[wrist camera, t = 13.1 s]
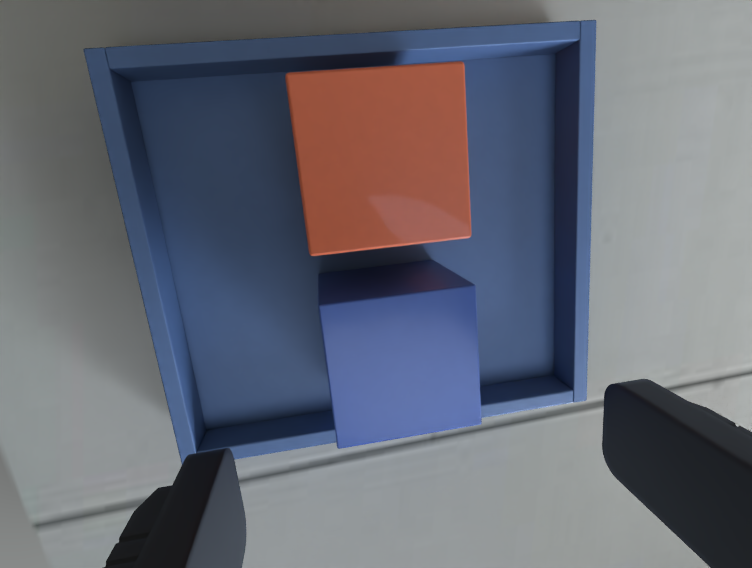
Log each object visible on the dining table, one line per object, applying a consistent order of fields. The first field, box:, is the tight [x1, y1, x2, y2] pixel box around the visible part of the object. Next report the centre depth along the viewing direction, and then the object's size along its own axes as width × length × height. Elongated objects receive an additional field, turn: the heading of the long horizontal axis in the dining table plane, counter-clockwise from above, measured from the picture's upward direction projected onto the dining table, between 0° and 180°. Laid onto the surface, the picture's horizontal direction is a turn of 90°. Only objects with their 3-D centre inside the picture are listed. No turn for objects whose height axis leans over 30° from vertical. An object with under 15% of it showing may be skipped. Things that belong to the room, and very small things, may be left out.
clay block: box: [285, 61, 471, 256], centre depth 13 cm, size 5×5×5 cm
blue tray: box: [84, 20, 596, 464], centre depth 15 cm, size 16×14×2 cm
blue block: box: [318, 260, 481, 449], centre depth 14 cm, size 5×5×5 cm
